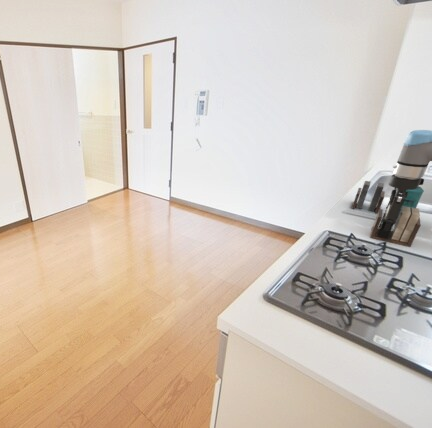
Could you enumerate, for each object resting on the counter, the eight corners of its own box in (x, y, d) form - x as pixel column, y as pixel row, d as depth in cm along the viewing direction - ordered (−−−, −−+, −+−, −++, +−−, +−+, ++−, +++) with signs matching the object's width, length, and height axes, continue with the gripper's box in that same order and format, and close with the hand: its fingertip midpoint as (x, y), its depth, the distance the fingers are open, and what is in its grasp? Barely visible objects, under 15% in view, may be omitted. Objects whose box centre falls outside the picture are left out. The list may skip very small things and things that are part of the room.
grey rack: (377, 209, 128) (388, 182, 123) (376, 216, 122) (387, 188, 117) (352, 205, 134) (361, 179, 128) (350, 211, 128) (359, 184, 122)
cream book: (385, 230, 109) (396, 204, 105) (385, 238, 104) (396, 211, 100) (378, 228, 111) (389, 203, 106) (378, 236, 105) (389, 210, 101)
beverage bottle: (383, 219, 119) (402, 174, 111) (404, 222, 116) (424, 176, 108) (389, 226, 114) (409, 179, 106) (411, 229, 111) (433, 181, 103)
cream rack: (409, 237, 106) (422, 208, 101) (410, 247, 100) (424, 217, 95) (371, 229, 113) (382, 201, 108) (370, 237, 107) (381, 209, 102)
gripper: (392, 167, 107) (371, 220, 116) (391, 182, 93) (368, 240, 103) (420, 170, 102) (396, 225, 112) (423, 186, 88) (396, 247, 98)
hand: (382, 232), depth 107 cm, fingers closed on cream book, 8 cm apart
